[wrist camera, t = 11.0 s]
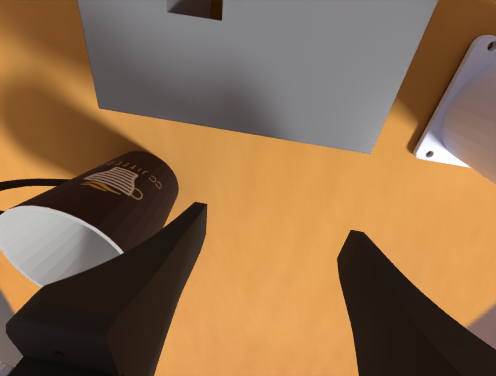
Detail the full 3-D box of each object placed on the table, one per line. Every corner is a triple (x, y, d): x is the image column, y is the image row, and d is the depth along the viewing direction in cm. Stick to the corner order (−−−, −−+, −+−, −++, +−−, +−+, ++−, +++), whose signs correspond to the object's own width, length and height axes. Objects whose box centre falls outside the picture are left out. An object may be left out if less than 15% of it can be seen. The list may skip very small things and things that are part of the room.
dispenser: (393, -39, 13) (483, -103, 7) (341, 116, 18) (370, 154, 12) (147, -73, 14) (45, -160, 8) (158, 86, 18) (98, 108, 12)
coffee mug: (208, 187, 23) (163, 275, 14) (157, 230, 26) (97, 319, 18) (100, 90, 19) (-46, 129, 11) (59, 155, 23) (-74, 223, 14)
